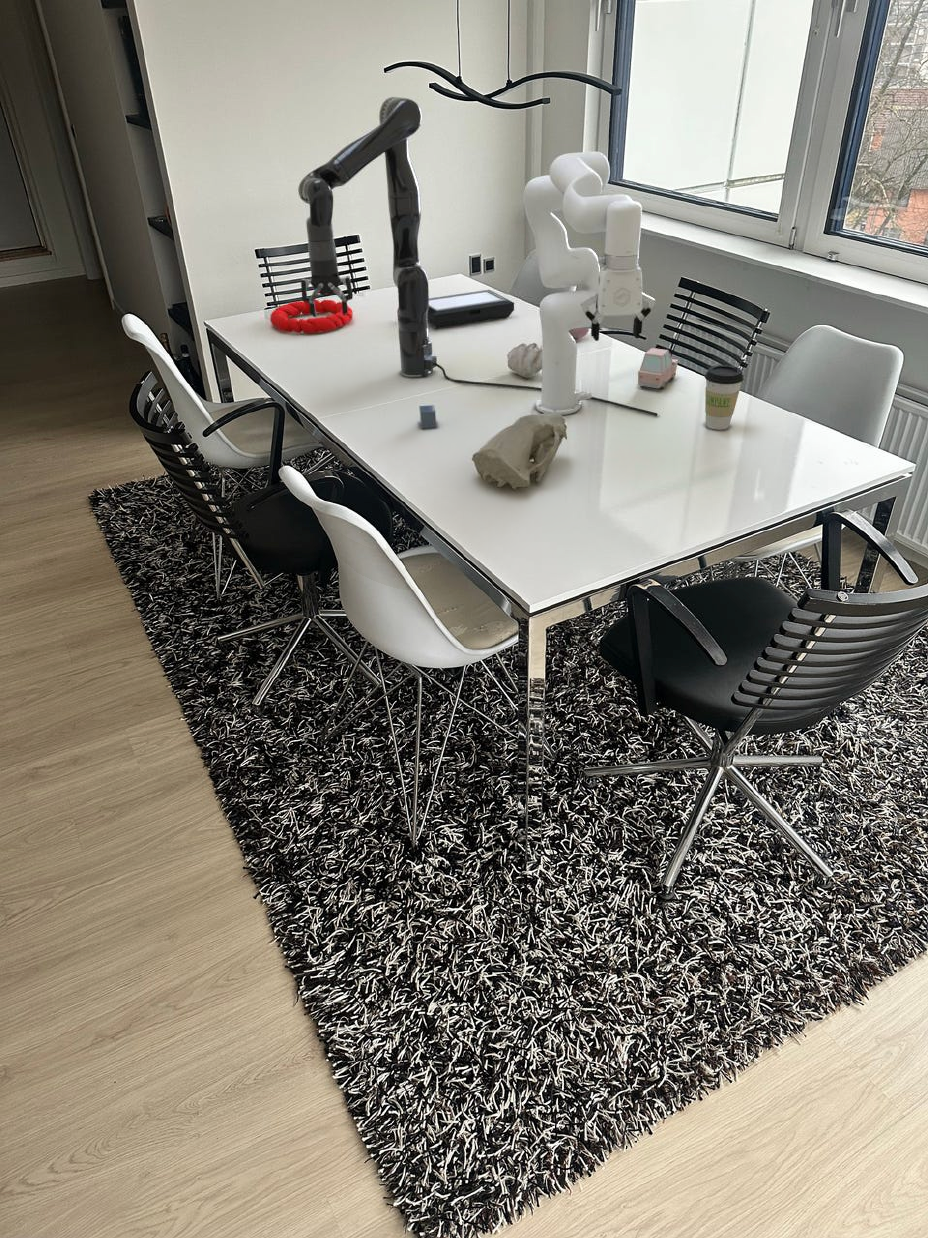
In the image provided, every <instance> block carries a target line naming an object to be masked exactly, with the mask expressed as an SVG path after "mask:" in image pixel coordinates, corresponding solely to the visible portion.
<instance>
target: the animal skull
mask: <svg viewBox="0 0 928 1238" xmlns="http://www.w3.org/2000/svg"><path fill="white" fill-rule="evenodd" d="M567 429H568V427H567V424H566V419H565V418H564V415H558V414H554V413H552V412H548V413H537V414H526V415H523V416H520V417H519V418H518V419H516V421H515V422H514V423H513V424H511V425H509V426H507V427H505V428H503V429H501V430H500V431H499V432H498V433H497V434H495V435H494V436H493V437H491V439H489V440H488V441H487V442H486V443H485V444H484V445H483V446H482V447H481V448H480V449H479V450H478V451H477V452H475V453H474V454H473V455H472V458H471V461H472V462H473V464H474V467H475V469H476V471H477V473H478V475H479V476H480V477H482V478H483V480H484V481H485V482H486V483H491V482H497V488H501V487H503V486H504V485H505V484H507V483H508V484H509V485H510V486H511V488H512V490H515V489H517V488H520V487H521V488H523V487H524V488H526V487H527V488H529V487H530V475H531V474H533V473H535V476H536V479H535V481H536V482H537V483H539V482H540V481H541V480H542V477H543V476H544V474H545V473H546V472H547V471H548V468H549V466H550V465H551V463H552V462H553V460H554V459H555V456H556V454H557V452H558V450H559V447H560V446H561V444H562V442H563V440H568V434H567Z"/></svg>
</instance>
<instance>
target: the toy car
mask: <svg viewBox="0 0 928 1238" xmlns="http://www.w3.org/2000/svg"><path fill="white" fill-rule="evenodd" d="M678 363H679V359H675V358H672V356H671V353H670V350H669V349H661V348H655V347H651V348H650V349H648V350H647V351H646V352H644V355H643V358H642V362H641V365H640V367H639V370H638V371H637V385H638V386H642V387H648V388H654V389H665V387H666V385H667V382H668V381H670V380H672V381H674V380H675V377H676V375H677V369H678Z"/></svg>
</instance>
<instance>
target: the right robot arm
mask: <svg viewBox="0 0 928 1238" xmlns="http://www.w3.org/2000/svg"><path fill="white" fill-rule="evenodd" d="M610 175H611V168H610V162H609V160H608V158H607V156H605V154H604V153H602V152H600V151H593V150H592V151H582V152H581V151H580V152H569V153H563V154H561V155H559V156H557V157H556V158H555V159H554V160H553V161H552V163H551V164H550V167H549V174H548V175H547V174H546V175H541V176H537V177H534V178H532V179H530V180H529V181H528V182H527V183H526V184H525V187H524V191H523V206H524V213H525V215H526V219H527V222H528V224H529V226H530V229H531V232H532V234H533V237H534V243H535V251H536V258H537V265H538V272H539V277H540V281H541V283H542V286H544V287H545V288H547V289H562V288H569V287H570V288H571V287H579V289H580V290H569V291H561V292H554V293H551V294H548V295H546V296H545V297H543V299H542V300H541V301H540V303H539V319H540V326H541V338H542V341H541V343H542V347H541V349H542V369H541V388H542V391H541V395H540V396H541V397H540V398H539V399H538V400H537V401H535V409H536V410H537V411H539V413H540V412H541V414H544V413H548V412H552V413H554V414H558V415H562V416H564V415H571V414H574V413H576V412H578V411H579V410H580V409H581V401H582V400H592V399H591V397H593V396H592V392H591V391H584V390H583V389H581V390H577V389H576V387H577V385H576V384H577V383H576V382H577V362H578V344H577V342H576V339H574V338H573V337H572V336H571V335H570V333H569V330H570V329H575V328H582V327H589V328H590V336H591V337H592V338H593V340H594V341H595V342H598V341H599V340H600V329H601V328H600V327H601V325H600V324H601V323H602V322H603V320H604V317H616V316H617V317H619V316H635V317H634V318H633V326H632V335H633V337H634V338H635V339H640V334H642V332H643V321H645V318H646V317H647V316H648V315H649V314H650V313H651V312H652V309H653V308H654V307H655V306H654V305H655V304H656V302H657V301H656V299H655V298H653V297H651V296H649V295H647V294H645V293H644V292H643V272H642V268H641V267H640V266H639V253H640V242H641V230H642V218H643V217H642V215H643V208H642V204H641V203H640V202H638V201H635V200H633V199H632V198H631V197H630V196H629V195H627V194H622V193H621V194H605V195H602V192H603V190H604V189H605V188H606V186H607V185H608V183H609V180H610ZM560 211H562V212H563V215H564V216H563V217H564V219H565V221H566V223H567V224H568V225H569V226H570V227H571V228H572V229H573V230H574V231H575V232H577V233H580V234H586V235H587V234H597V233H605V243H604V253H603V256H601V257H598V256H597V254H596V252H595V251H594V250H593V249H591V248H590V247H573V248H571V247H570V245H569V242H568V241H569V240H568V234H567V230H566V228H565V226H564V225H563V223H562V221H561V220H560V219H559V218H558V217H557V216H556V215H555V214H554V213H552V212H560ZM600 265H603V266H602V267H601V268H600ZM643 301H644V302H646V305H645V306H644V308H643ZM642 308H643V309H642Z"/></svg>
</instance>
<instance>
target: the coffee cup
mask: <svg viewBox="0 0 928 1238" xmlns="http://www.w3.org/2000/svg"><path fill="white" fill-rule="evenodd" d="M704 379H705V387H704V388H705V389H704V390H705V392H704V393H705V394H704V395H705V396H704V397H705V399H704V401H705V402H704V403H705V404H704V406H705V408H704V412H705V426H706V427H707V428H708V429H711V430H719V431H722V430H727V429H729V428H730V424H731V422H732V421H731V420H732V418H733V415H734V413H735V408H736V404H737V401H738V397H739V394H740V390H741V389H740V387H741V384H742V382H743V381H744V379H745V377H744V374H743V370H742V369H741V368H739V367H738V366H734V365H728V364H717V365H712V366H710V367H708V369H707V372H705V374H704Z"/></svg>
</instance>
